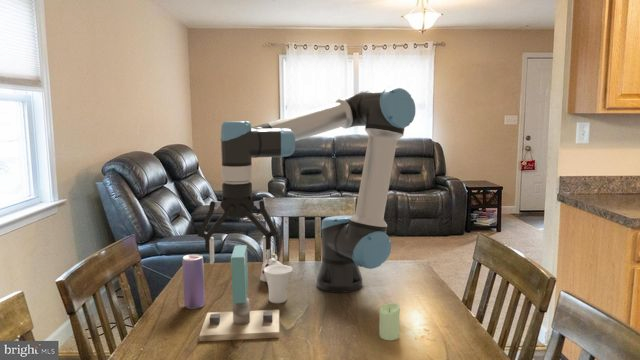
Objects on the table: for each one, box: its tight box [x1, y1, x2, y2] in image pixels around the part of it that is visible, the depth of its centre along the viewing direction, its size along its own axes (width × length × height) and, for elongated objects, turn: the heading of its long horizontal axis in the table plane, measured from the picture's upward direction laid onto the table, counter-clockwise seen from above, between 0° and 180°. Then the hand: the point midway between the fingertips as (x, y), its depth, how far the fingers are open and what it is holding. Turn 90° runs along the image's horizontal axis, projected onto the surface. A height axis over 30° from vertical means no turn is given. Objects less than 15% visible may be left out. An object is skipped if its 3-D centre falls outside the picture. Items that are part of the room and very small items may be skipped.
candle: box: [378, 302, 401, 341], centre depth 122 cm, size 5×5×8 cm
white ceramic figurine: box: [259, 253, 284, 283], centre depth 162 cm, size 10×8×15 cm
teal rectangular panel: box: [230, 244, 249, 304], centre depth 127 cm, size 3×11×13 cm, turn 5°
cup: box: [264, 264, 294, 304], centre depth 146 cm, size 9×9×10 cm
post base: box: [198, 297, 280, 342], centre depth 128 cm, size 20×14×8 cm
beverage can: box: [182, 253, 206, 310], centre depth 142 cm, size 6×6×15 cm
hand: (238, 262), depth 126 cm, fingers open, 13 cm apart
